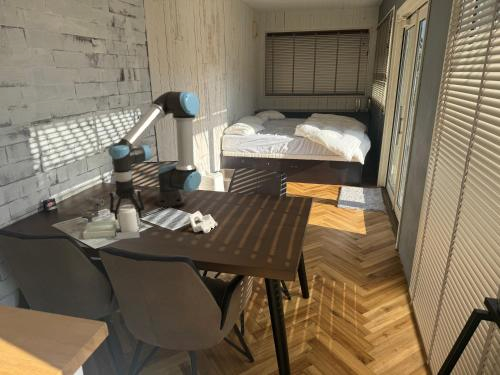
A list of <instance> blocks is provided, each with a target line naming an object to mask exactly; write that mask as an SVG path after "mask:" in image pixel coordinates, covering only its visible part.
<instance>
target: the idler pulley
mask: <svg viewBox="0 0 500 375" xmlns="http://www.w3.org/2000/svg"><path fill="white" fill-rule="evenodd" d="M80 214H81V218H82V219H85V220H87V224H88V223H89V222H93V218H95V217H96V216H97V211H96V210H95V209H86V210H82V212H81V213H80ZM96 218H97V217H96Z"/></svg>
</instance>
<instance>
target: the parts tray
mask: <svg viewBox="0 0 500 375" xmlns="http://www.w3.org/2000/svg"><path fill="white" fill-rule="evenodd" d="M118 228H119V227H118V220H115V219H113V220H111V219H110V220H98V221H92V222H89V223H88V222H87V226H86V227H85V229H84V231H83V233H82V237H83V240H93V239H94V240H95V239H104V238H105V239H107V238H115V237H116V233H118Z"/></svg>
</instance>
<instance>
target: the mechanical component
mask: <svg viewBox="0 0 500 375" xmlns="http://www.w3.org/2000/svg"><path fill="white" fill-rule="evenodd" d="M85 202H86V205H87V206H88V207H89V206H90V207H93V209H92V210H96V211H97V216H96V218H97V217H99V216H100V215H99V208H100V207H102V206H104V205H105V199H104V198H102V199H99V198H98V197H91V196H90V197H87V198H85Z"/></svg>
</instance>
